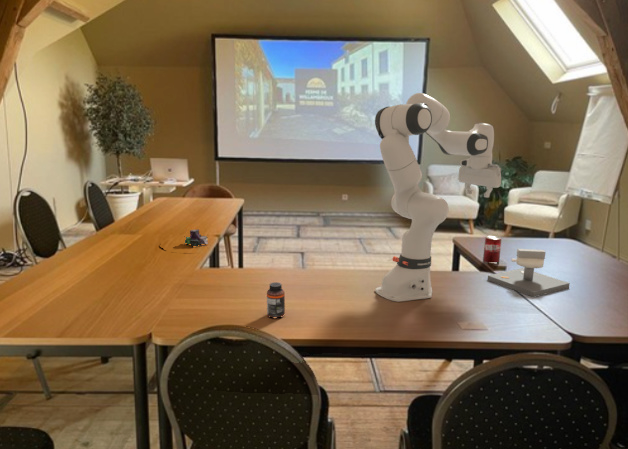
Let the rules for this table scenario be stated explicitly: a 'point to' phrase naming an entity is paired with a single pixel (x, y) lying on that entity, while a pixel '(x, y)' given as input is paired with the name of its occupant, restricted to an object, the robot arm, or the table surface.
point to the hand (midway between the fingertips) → (477, 195)
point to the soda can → (492, 249)
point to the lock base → (528, 281)
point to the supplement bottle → (275, 300)
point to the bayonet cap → (530, 258)
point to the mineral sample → (196, 238)
